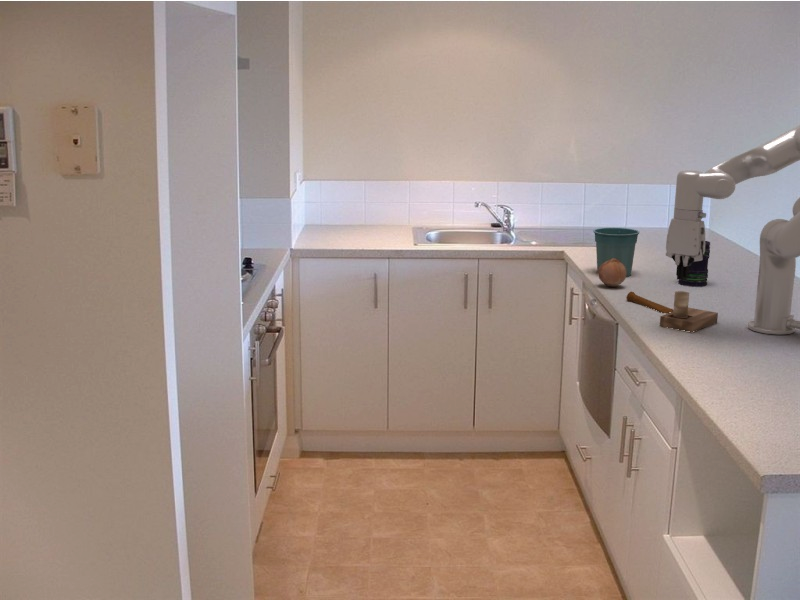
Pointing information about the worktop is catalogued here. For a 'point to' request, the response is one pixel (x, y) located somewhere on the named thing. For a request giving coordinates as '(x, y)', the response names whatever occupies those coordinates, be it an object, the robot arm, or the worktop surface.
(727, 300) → the worktop surface
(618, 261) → the onion
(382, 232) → the worktop surface
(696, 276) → the storage jar
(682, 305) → the peg
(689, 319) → the board
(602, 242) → the flower pot
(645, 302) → the primitive tool
